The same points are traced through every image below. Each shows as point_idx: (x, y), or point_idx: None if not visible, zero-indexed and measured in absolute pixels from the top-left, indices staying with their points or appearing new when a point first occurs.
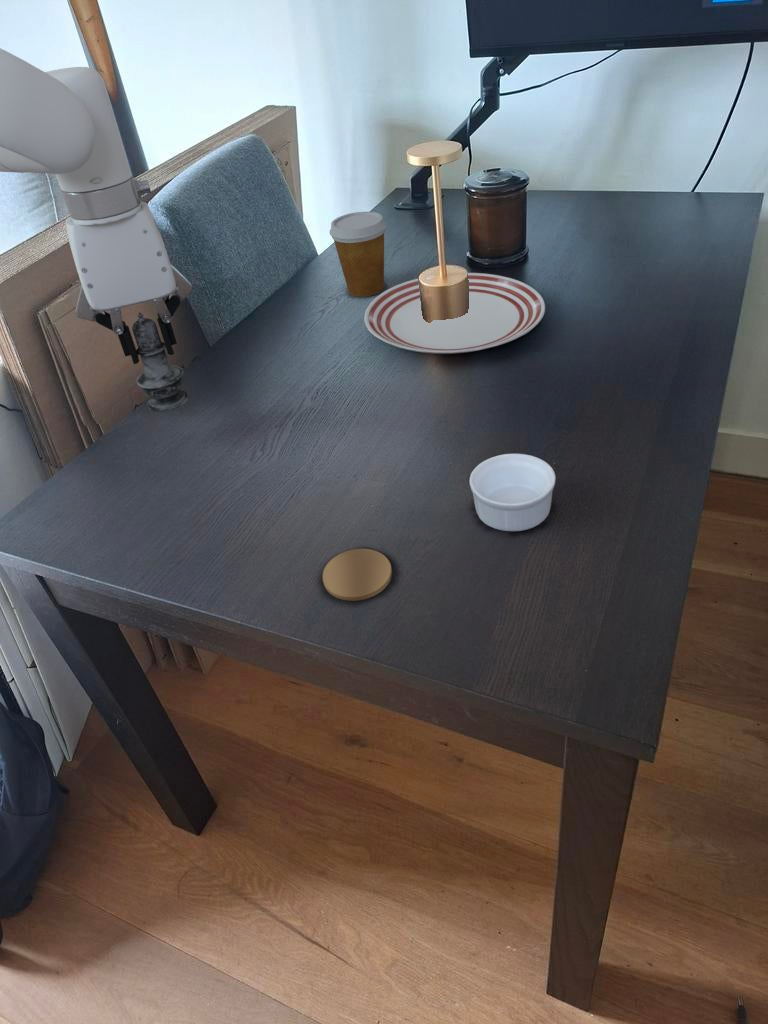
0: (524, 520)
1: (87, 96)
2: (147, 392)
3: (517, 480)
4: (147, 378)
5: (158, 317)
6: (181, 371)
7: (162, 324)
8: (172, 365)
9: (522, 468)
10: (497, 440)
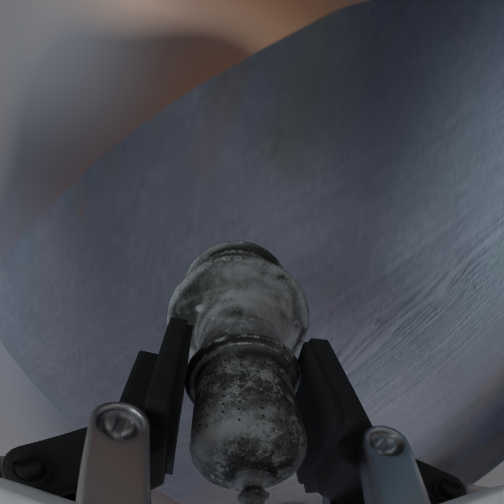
0: None
1: None
2: None
3: None
4: (197, 350)
5: (325, 486)
6: (299, 342)
7: (314, 489)
8: (294, 289)
9: None
10: (464, 441)
